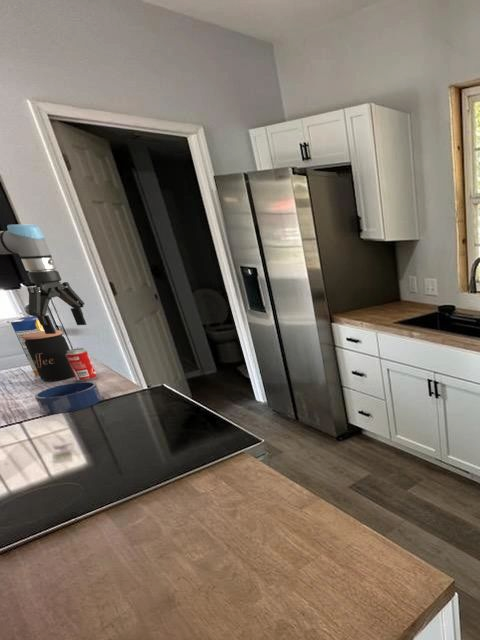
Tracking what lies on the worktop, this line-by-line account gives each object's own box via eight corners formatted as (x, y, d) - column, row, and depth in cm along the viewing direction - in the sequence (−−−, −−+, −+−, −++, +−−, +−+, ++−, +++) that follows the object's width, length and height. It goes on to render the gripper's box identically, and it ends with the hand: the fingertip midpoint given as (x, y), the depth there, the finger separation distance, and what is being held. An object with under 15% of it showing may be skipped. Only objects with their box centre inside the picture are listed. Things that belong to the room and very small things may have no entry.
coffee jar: (34, 381, 159) (13, 336, 153) (67, 372, 169) (49, 329, 162) (54, 383, 157) (34, 337, 150) (87, 374, 167) (69, 330, 160)
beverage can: (80, 378, 162) (68, 349, 158) (99, 375, 165) (88, 346, 160) (74, 382, 157) (61, 353, 153) (94, 380, 160) (82, 350, 155)
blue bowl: (28, 415, 130) (20, 399, 128) (67, 397, 144) (60, 383, 142) (79, 412, 132) (72, 396, 130) (112, 394, 146) (107, 380, 144)
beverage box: (35, 376, 165) (10, 322, 157) (45, 368, 173) (22, 317, 165) (59, 373, 168) (35, 320, 160) (67, 365, 177) (46, 315, 169)
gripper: (20, 274, 135) (48, 337, 143) (82, 266, 158) (103, 321, 166) (-6, 275, 134) (24, 338, 142) (60, 267, 157) (82, 322, 165)
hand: (67, 329), depth 154 cm, fingers open, 13 cm apart
